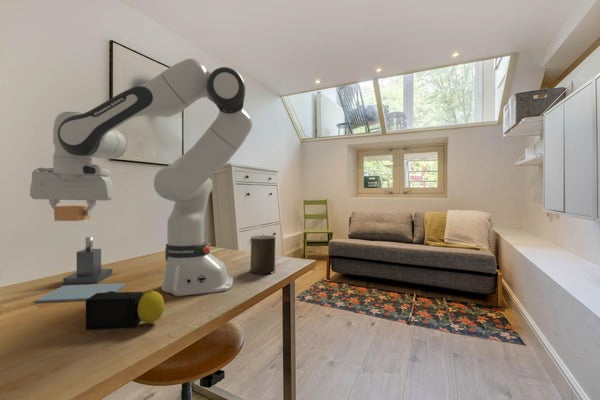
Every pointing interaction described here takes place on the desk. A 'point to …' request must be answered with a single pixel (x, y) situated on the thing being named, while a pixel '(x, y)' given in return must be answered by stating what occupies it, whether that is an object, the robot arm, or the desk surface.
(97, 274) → the stand
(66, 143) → the robot arm
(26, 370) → the desk surface
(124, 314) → the black rectangular box
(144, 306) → the lemon
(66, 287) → the mat
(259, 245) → the pillar candle
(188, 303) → the desk surface
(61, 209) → the collar
